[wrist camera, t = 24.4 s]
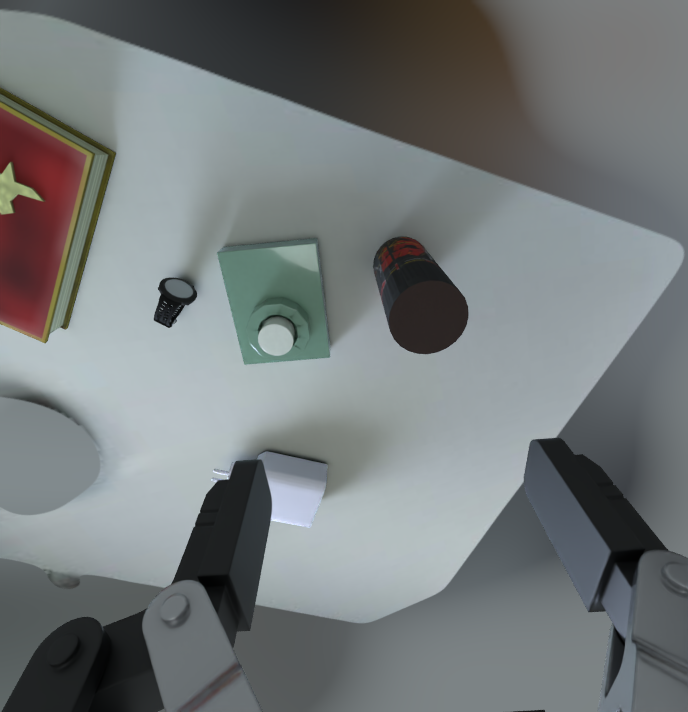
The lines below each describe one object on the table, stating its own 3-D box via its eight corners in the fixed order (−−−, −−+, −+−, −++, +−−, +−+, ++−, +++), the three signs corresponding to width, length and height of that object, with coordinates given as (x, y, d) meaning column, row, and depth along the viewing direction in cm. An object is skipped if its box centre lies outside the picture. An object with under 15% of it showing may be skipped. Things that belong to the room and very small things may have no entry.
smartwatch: (209, 293, 44) (195, 310, 39) (177, 318, 45) (160, 337, 41) (182, 264, 42) (163, 278, 38) (149, 291, 43) (128, 307, 39)
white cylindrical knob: (258, 317, 41) (254, 325, 39) (292, 314, 41) (290, 322, 39) (264, 348, 42) (261, 357, 41) (297, 345, 42) (295, 354, 40)
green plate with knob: (223, 246, 41) (210, 257, 37) (317, 237, 41) (314, 247, 37) (248, 354, 47) (240, 373, 43) (330, 347, 47) (329, 366, 43)
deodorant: (438, 251, 42) (484, 301, 28) (410, 299, 44) (440, 365, 31) (389, 226, 40) (414, 266, 27) (363, 277, 43) (374, 336, 30)
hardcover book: (-47, 277, 42) (-84, 290, 39) (-23, 74, 34) (-68, 65, 30) (67, 328, 45) (43, 344, 42) (115, 152, 37) (90, 153, 33)
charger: (222, 437, 53) (328, 461, 56) (213, 484, 58) (311, 504, 60) (212, 462, 49) (327, 486, 51) (203, 510, 53) (309, 531, 56)
